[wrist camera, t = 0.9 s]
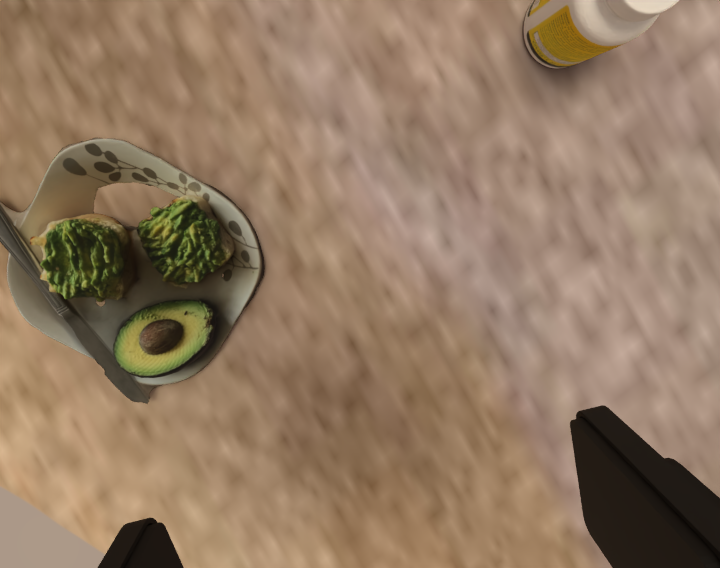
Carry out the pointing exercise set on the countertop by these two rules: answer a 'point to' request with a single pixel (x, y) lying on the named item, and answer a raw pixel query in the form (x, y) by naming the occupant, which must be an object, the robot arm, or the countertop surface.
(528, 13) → the supplement bottle
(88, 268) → the salad plate
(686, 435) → the countertop surface
